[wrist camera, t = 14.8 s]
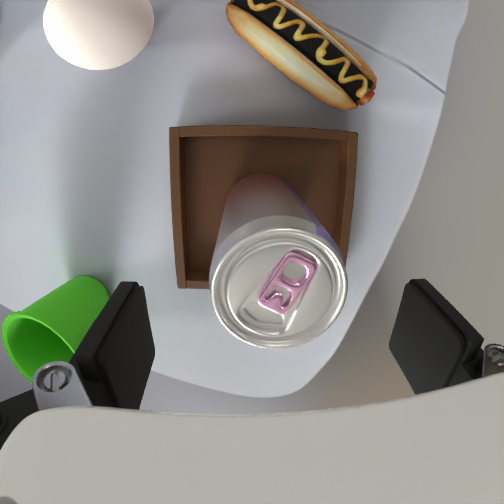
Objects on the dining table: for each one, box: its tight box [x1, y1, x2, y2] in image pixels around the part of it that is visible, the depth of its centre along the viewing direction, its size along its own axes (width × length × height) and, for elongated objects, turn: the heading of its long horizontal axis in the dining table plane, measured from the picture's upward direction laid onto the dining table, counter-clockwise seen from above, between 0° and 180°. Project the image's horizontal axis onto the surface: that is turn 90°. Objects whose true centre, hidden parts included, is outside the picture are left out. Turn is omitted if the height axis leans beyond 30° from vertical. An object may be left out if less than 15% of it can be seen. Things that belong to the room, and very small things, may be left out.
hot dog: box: [226, 0, 377, 110], centre depth 20 cm, size 5×13×5 cm, turn 49°
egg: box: [43, 0, 154, 70], centre depth 15 cm, size 7×7×12 cm
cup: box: [2, 276, 109, 383], centre depth 25 cm, size 9×9×11 cm
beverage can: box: [209, 173, 348, 349], centre depth 19 cm, size 6×6×15 cm
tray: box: [169, 125, 358, 289], centre depth 26 cm, size 15×14×3 cm
